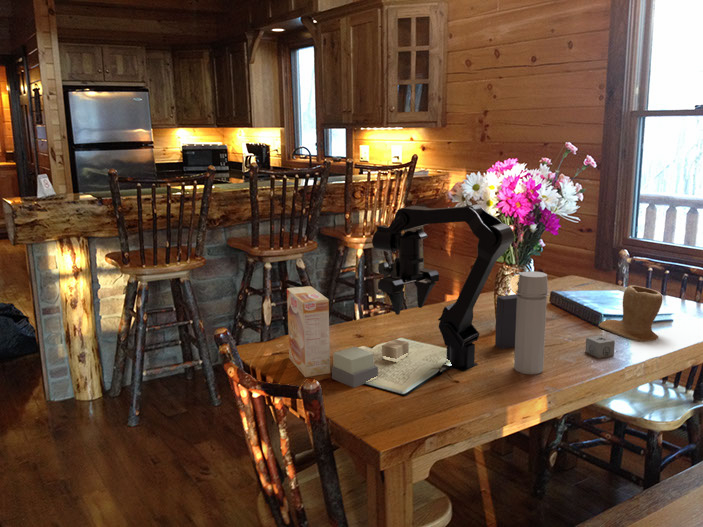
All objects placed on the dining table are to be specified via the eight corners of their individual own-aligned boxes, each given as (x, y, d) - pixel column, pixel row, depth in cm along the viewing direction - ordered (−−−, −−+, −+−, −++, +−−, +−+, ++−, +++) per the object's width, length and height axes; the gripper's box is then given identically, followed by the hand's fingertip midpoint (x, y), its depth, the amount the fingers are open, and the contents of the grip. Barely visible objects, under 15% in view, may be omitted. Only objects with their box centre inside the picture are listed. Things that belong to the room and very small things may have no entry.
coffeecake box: (288, 358, 173) (285, 288, 169) (313, 354, 175) (311, 285, 171) (304, 377, 159) (301, 301, 155) (331, 373, 161) (329, 298, 157)
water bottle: (538, 379, 156) (543, 279, 151) (507, 372, 160) (511, 275, 155) (551, 367, 163) (556, 272, 158) (522, 361, 168) (526, 268, 163)
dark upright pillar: (526, 342, 182) (529, 291, 179) (536, 347, 178) (538, 295, 175) (493, 347, 179) (495, 295, 175) (501, 352, 175) (503, 299, 172)
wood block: (408, 342, 171) (396, 348, 166) (408, 358, 172) (396, 364, 167) (394, 339, 173) (381, 345, 169) (394, 354, 174) (382, 361, 170)
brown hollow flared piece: (668, 341, 182) (673, 290, 179) (637, 347, 177) (641, 294, 174) (627, 326, 196) (630, 278, 192) (597, 332, 191) (600, 283, 188)
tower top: (373, 367, 157) (373, 353, 156) (351, 374, 152) (351, 360, 152) (355, 359, 162) (355, 346, 161) (333, 366, 158) (333, 352, 157)
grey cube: (613, 358, 169) (614, 340, 168) (598, 361, 167) (599, 343, 166) (600, 352, 174) (601, 335, 173) (585, 355, 172) (586, 337, 171)
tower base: (377, 380, 158) (377, 366, 157) (353, 389, 152) (353, 375, 152) (355, 371, 163) (355, 358, 163) (331, 379, 158) (331, 366, 157)
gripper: (409, 245, 181) (409, 299, 184) (362, 255, 169) (363, 312, 172) (440, 250, 173) (439, 306, 177) (393, 261, 161) (393, 320, 164)
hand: (408, 311), depth 172 cm, fingers open, 9 cm apart
